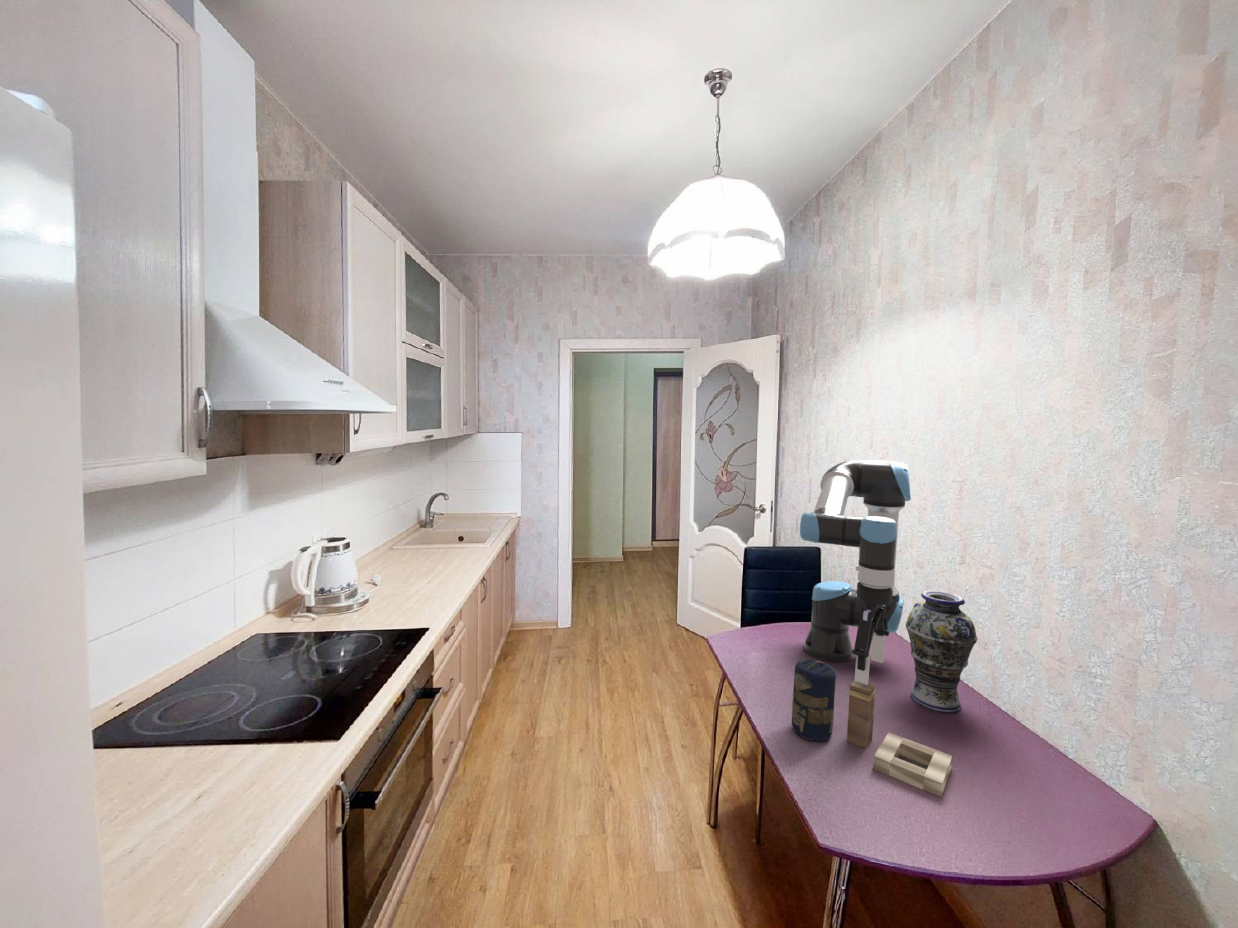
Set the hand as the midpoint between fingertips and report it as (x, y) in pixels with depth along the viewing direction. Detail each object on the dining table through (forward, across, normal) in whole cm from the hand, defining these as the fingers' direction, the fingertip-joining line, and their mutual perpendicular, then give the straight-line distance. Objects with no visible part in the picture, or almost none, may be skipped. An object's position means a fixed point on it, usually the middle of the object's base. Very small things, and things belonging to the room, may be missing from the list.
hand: (869, 671), depth 124 cm
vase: (+18, -32, +10) cm, 38 cm away
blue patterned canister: (+18, +5, -11) cm, 22 cm away
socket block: (+18, +4, +11) cm, 21 cm away
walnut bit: (+18, 0, -1) cm, 18 cm away
